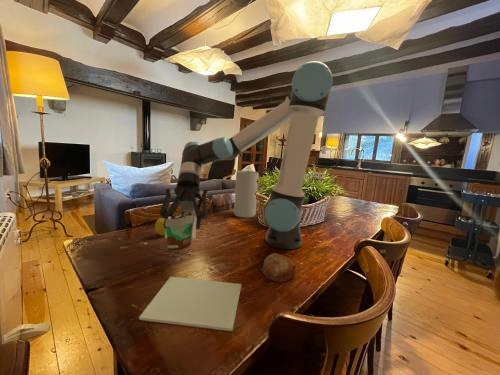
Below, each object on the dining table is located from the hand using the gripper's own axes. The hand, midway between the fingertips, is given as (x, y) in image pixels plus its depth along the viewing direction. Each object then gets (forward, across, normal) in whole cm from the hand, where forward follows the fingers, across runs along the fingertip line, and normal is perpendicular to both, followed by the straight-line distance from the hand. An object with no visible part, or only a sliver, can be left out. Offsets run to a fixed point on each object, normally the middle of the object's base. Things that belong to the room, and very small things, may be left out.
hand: (180, 238), depth 68 cm
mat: (+18, -7, +4) cm, 19 cm away
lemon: (-12, +12, -25) cm, 30 cm away
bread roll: (+9, -30, -6) cm, 32 cm away
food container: (0, 0, -5) cm, 5 cm away
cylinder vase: (-36, -24, -50) cm, 66 cm away
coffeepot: (-23, +4, -36) cm, 43 cm away
